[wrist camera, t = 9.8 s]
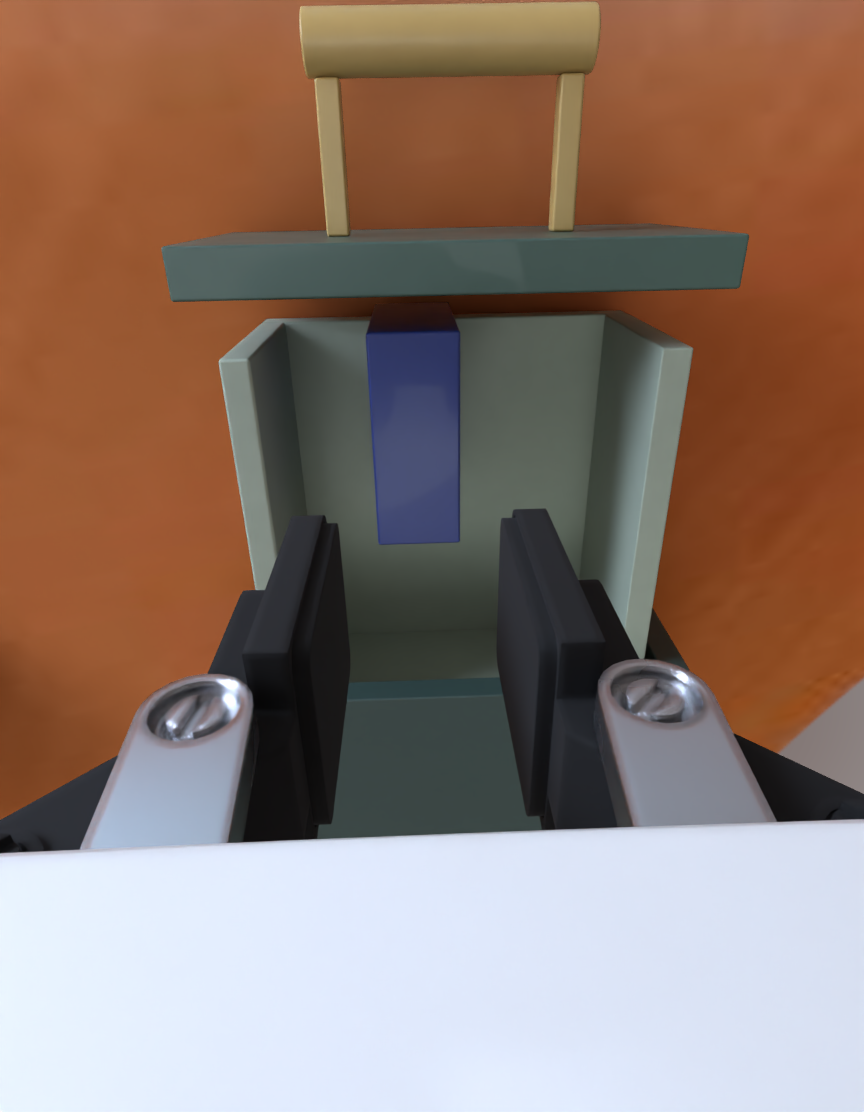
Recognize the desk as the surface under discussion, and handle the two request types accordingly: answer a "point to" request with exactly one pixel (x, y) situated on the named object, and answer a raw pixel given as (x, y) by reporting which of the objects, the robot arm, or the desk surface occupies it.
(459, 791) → the cabinet
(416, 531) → the card deck
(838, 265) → the desk surface
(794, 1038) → the robot arm
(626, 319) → the drawer
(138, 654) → the desk surface
